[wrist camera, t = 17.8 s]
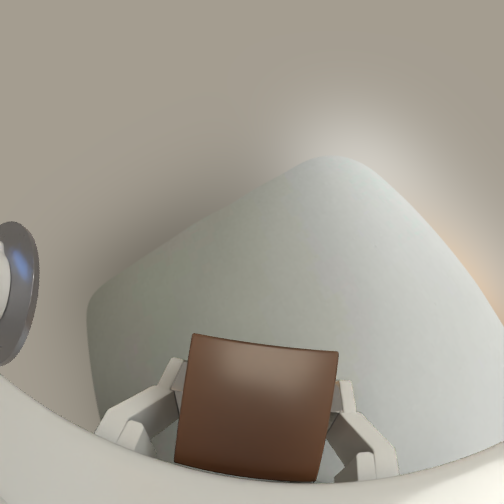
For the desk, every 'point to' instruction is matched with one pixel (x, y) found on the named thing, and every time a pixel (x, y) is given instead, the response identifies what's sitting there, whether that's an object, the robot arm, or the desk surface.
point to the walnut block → (255, 409)
